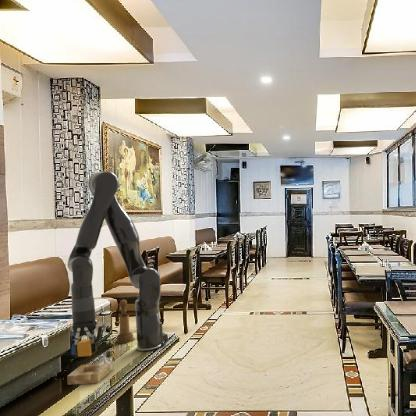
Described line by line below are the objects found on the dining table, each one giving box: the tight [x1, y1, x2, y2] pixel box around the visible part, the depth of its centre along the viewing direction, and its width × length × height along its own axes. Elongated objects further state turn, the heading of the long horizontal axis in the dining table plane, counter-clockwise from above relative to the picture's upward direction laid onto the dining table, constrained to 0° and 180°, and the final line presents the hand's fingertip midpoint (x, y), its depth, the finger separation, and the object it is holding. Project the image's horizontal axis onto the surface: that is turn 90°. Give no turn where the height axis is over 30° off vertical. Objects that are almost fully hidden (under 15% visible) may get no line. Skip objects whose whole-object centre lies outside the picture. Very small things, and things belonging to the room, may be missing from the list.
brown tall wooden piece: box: [116, 299, 134, 344], centre depth 188 cm, size 7×6×18 cm
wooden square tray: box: [66, 362, 111, 386], centre depth 149 cm, size 10×10×3 cm
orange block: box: [77, 338, 93, 358], centre depth 160 cm, size 4×4×5 cm
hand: (86, 353), depth 160 cm, fingers closed on orange block, 4 cm apart
